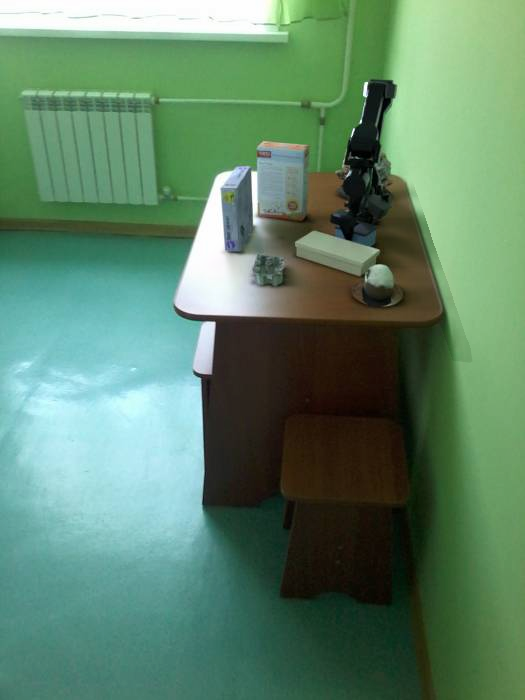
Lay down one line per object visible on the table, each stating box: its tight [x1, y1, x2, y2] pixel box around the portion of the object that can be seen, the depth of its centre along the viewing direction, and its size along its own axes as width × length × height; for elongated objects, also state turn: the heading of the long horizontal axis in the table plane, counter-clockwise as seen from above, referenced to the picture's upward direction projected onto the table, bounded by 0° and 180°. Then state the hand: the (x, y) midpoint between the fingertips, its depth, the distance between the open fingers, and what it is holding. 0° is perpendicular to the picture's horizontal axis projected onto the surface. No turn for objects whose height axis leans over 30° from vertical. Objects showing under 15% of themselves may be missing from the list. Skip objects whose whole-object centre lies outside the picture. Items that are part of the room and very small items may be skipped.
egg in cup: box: [351, 263, 404, 308], centre depth 147 cm, size 12×10×10 cm
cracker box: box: [256, 140, 310, 222], centre depth 180 cm, size 14×6×21 cm, turn 71°
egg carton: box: [252, 252, 286, 287], centre depth 154 cm, size 11×8×4 cm
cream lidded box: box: [294, 230, 381, 277], centre depth 161 cm, size 9×20×4 cm, turn 53°
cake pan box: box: [220, 165, 254, 253], centre depth 168 cm, size 19×5×18 cm, turn 169°
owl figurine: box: [335, 151, 393, 200], centre depth 195 cm, size 18×12×17 cm, turn 83°
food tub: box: [334, 221, 379, 247], centre depth 169 cm, size 7×9×5 cm
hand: (354, 239), depth 169 cm, fingers closed on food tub, 6 cm apart
